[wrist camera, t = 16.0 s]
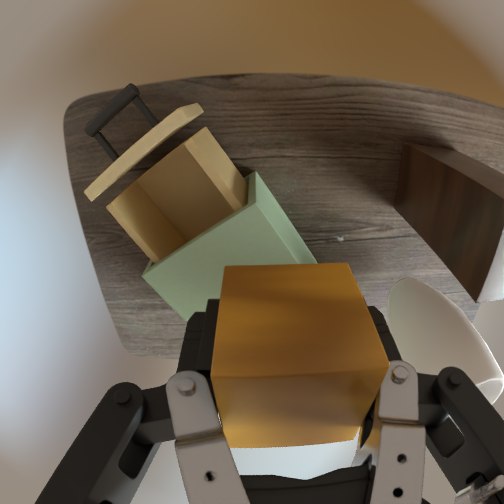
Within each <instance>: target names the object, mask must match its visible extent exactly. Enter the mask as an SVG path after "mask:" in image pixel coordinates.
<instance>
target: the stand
mask: <svg viewBox="0 0 504 504" xmlns="http://www.w3.org/2000/svg"><path fill="white" fill-rule="evenodd" d="M394 209H395V210H396V211H397V212H398V213H399V214H400V215H401V216H402V217H403V218H404V219H405V220H406V221H407V222H408V223H409V224H410V225H411V226H412V228H413V229H414V230H415V231H416V232H417V233H418V234H419V235H420V236H421V237H422V238H423V240H424V241H425V242H426V243H427V244H428V245H429V246H430V247H431V249H432V250H433V251H434V252H435V253H436V254H437V255H438V257H439V258H440V259H441V260H442V261H443V263H444V264H445V265H446V266H447V267H448V269H449V270H450V271H451V272H452V273H453V275H454V276H455V277H456V278H457V280H458V281H459V282H460V283H461V285H462V286H463V287H464V288H465V290H466V291H467V292H468V294H469V295H470V296H471V298H472V299H473V300H474V301H475V303H480V302H487V301H495V300H502V299H504V174H502V173H500V172H498V171H497V170H495V169H493V168H491V167H489V166H487V165H485V164H483V163H481V162H479V161H477V160H475V159H473V158H471V157H469V156H467V155H465V154H463V153H460V152H458V151H455V150H449V149H443V148H437V147H431V146H424V145H417V144H410V143H403V146H402V155H401V164H400V172H399V179H398V186H397V193H396V199H395V205H394Z"/></svg>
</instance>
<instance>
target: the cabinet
mask: <svg viewBox="0 0 504 504" xmlns="http://www.w3.org/2000/svg"><path fill="white" fill-rule="evenodd" d="M244 179H245V181H246V182H247V184H248V185H249V190H248V204H247V205H246V206H244V207H242V208H241V209H239V210H238V211H236V212H234V213H233V214H231V215H230V216H228V217H226V218H225V219H223V220H222V221H220V222H219V223H217V224H215V225H214V226H212V227H211V228H209V229H208V230H206V231H204V232H203V233H201V234H200V235H198V236H197V237H195V238H194V239H192V240H191V241H189V242H188V243H186V244H184V245H183V246H181V247H180V248H178V249H177V250H175V251H174V252H172V253H171V254H169V255H168V256H166V257H165V258H163V259H162V260H160V261H159V262H157V263H156V264H154V263H153V261H152V260H151V259H150V261H149V263H148V265H147V267H146V268H145V270H144V272H143V274H142V277H143V278H144V279H145V280H146V281H147V283H148V284H149V285H150V286H151V287H152V288H153V289H154V290H155V291H156V292H157V293H158V294H159V295H160V296H161V297H162V298H163V299H164V300H165V301H166V302H167V303H168V304H169V305H170V306H171V307H172V308H173V309H174V310H175V311H176V312H177V313H178V314H179V315H180V316H181V317H182V318H183V319H184V320H185V321H186V322H188V320H189V318H190V317H191V316H192V315H193V314H194V312H206V306H207V301H208V299H220V295H221V287H222V280H223V272H224V267H225V266H229V265H277V264H317V261H316V260H315V258H314V257H313V255H312V254H311V252H310V251H309V249H308V247H307V246H306V244H305V243H304V241H303V240H302V238H301V237H300V235H299V234H298V232H297V231H296V229H295V228H294V226H293V225H292V223H291V222H290V220H289V219H288V217H287V216H286V214H285V213H284V211H283V210H282V208H281V207H280V205H279V204H278V202H277V201H276V199H275V198H274V196H273V195H272V193H271V192H270V190H269V189H268V188H267V186H266V185H265V183H264V182H263V180H262V179H261V177H260V176H259V175H258V173H257V172H256V171H254V172H252V173H251V174H249V175H248V176H246V177H244Z"/></svg>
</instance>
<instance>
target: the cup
mask: <svg viewBox="0 0 504 504" xmlns="http://www.w3.org/2000/svg"><path fill="white" fill-rule="evenodd" d="M387 315H388V327H389V330H390V333H391V334H392V337H393V339H394V341H395V343H396V346H397V348H398V350H399V353H400V355H401V358H402V360H403V361H405V362H407V363H409V364H411V365H412V366H413V367H414V368H415V370H416V372H418V373H422V374H430V375H438V374H439V372H440V371H441V370H442V369H443V368H445V367H450V366H452V367H457V368H459V369H461V370H463V371H464V372H465V373H466V374H467V375H468V377H469V378H470V379H471V380H472V381H473V383H474V384H475V385H476V386H477V387H478V389H479V390H480V391H481V392H482V394H483V395H484V396H485V397H486V399H487V400H488V401H489V402H490V404H491V405H492V404H493V403H494V402H495V401H496V400H497V398H498V397H499V396H500V394H501V393H502V391H503V388H504V375H503V374H502V371H501V370H500V368H499V366H498V364H497V362H496V360H495V359H494V356H493V355H492V353H491V351H490V349H489V347H488V346H487V344H486V342H485V341H484V340H483V338H482V337H481V335H480V334H479V333H478V331H477V330H476V328H475V327H474V326H473V324H472V323H471V322H470V320H469V319H468V318H467V316H466V315H465V314H464V313H463V311H462V310H461V309H460V308H459V307H458V306H457V305H455V304H454V303H453V302H452V301H451V300H449V299H448V298H447V297H446V296H445V295H444V294H442V293H441V292H440V291H438V290H437V289H435V288H433V287H431V286H430V285H428V284H426V283H424V282H422V281H419V280H416V279H413V278H404V279H402V280H400V281H398V282H397V283H396V284H394V285H393V287H392V288H391V290H390V291H389V297H388V306H387ZM450 418H451V417H450ZM451 419H452V418H451ZM452 421H453V420H452ZM453 422H454V421H453ZM454 423H455V422H454ZM455 425H456V424H455ZM456 426H457V425H456ZM457 428H458V427H457Z"/></svg>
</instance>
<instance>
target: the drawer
mask: <svg viewBox="0 0 504 504" xmlns="http://www.w3.org/2000/svg"><path fill="white" fill-rule="evenodd" d="M139 95H140V92H139V90H138V88H137V87H136V86H135V85H133V84H129V85H128V86H126V87H125V88H124V89H123V90H122V91H121V92H120V93H119V94H118V95H117V96H115V97H114V98H113V99H112V100H111V101H110V102H109V103H108V104H107V105H106V106H105V107H104V108H103V109H102V110H101V111H100V112H99V113H98V114H97V115H96V116H95V117H94V118H93V119H92V120H91V121H90V122H89V123H88V124H87V125H86V126H85V132H86V133H87V134H88V135H89V136H91V137H95V138H96V140H97V141H98V142H99V144H100V145H101V146H102V148H103V149H104V150H105V151H106V153H107V154H108V155H109V157H110V158H111V159H112V160H113V163H112V164H111V165H110V166H109V167H108V168H107V169H106V170H105V171H104V172H103V173H102V174H101V175H100V176H99V177H98V178H97V179H96V180H95V181H94V182H93V183H92V184H91V185H90V186H89V187H88V188H87V189H86V190H85V191H84V193H85V195H86V196H87V197H88V198H89V200H90V201H93V200H94V199H95V198H96V197H98V196H99V195H100V194H101V193H102V192H104V191H105V190H106V189H107V188H108V187H110V186H111V185H112V184H113V183H115V182H116V181H117V180H119V179H120V178H121V177H122V176H124V175H125V174H126V173H127V172H128V171H129V170H130V169H132V168H133V167H134V166H135V165H136V164H137V163H139V162H140V161H141V160H142V159H143V158H145V157H146V156H147V155H148V154H149V153H151V152H152V151H153V150H154V149H156V148H157V147H158V146H159V145H161V144H162V143H163V142H164V141H166V140H167V139H168V138H169V137H171V136H172V135H173V134H175V133H176V132H177V131H179V130H180V129H181V128H183V127H184V126H185V125H187V124H188V123H189V122H191V121H192V120H193V119H195V118H196V117H197V116H199V115H200V114H202V113H203V112H204V111H203V110H202V108H201V107H200V106H199V104H198V103H194V104H191V105H187V106H183V107H180V108H178V109H176V110H175V111H174V112H172V113H171V114H170V115H169V116H167V117H166V118H165V119H164V120H162V121H161V122H160V123H159V121H158V120H157V119H156V117H155V116H154V115H153V114H152V112H151V111H150V110H149V108H148V107H147V106H146V104H145V103H144V102H143V101H142V99H141V98H140V97H139ZM132 101H133V102H134V104H135V105H136V106H137V108H138V109H139V110H140V112H141V113H142V114H143V115H144V117H145V118H146V119H147V121H148V122H149V123H150V125H151V126H152V127H153V128H152V129H151V130H150V131H149V132H148V133H146V134H145V135H144V136H143V137H142V138H140V139H139V140H138V141H137V142H136V143H135V144H133V145H132V146H131V147H130V148H129V149H128V150H127V151H126V152H124V153H123V154H122V155H121V156H119V155H118V154H117V152H116V151H115V150H114V148H113V147H112V146H111V145H110V143H109V142H108V141H107V139H106V138H105V137H104V135H103V134H102V133H101V132H99V131H100V130H101V129H102V128H103V127H105V126H106V125H107V124H108V123H109V122H110V121H111V120H112V119H113V118H114V117H115V116H116V115H117V114H118V113H119V112H120V111H122V110H123V109H124V108H125V107H126V106H127V105H128V104H129V103H130V102H132ZM248 190H249V185H248V184H247V182H246V181H245V179H244V178H243V177H242V175H241V174H240V172H239V171H238V170H237V168H236V167H235V166H234V164H233V163H232V161H231V160H230V159H229V157H228V156H227V155H226V153H225V152H224V150H223V149H222V148H221V146H220V145H219V144H218V142H217V141H216V140H215V138H214V137H213V136H212V134H211V133H210V132H209V130H208V129H207V128H206V126H205V127H204V128H202V129H201V130H200V131H198V132H197V133H195V134H194V135H193V136H191V137H190V138H189V139H187V140H186V141H184V142H183V143H182V144H180V145H179V146H178V147H176V148H175V149H174V150H173V151H171V152H170V153H169V154H167V155H166V156H165V157H164V158H162V159H161V160H160V161H158V162H157V163H156V164H155V165H153V166H152V167H151V168H150V169H149V170H147V171H146V172H145V173H144V174H142V175H141V176H140V177H139V178H138V179H136V180H135V181H134V182H133V183H132V184H131V185H130V186H128V187H127V188H126V189H125V190H124V191H123V192H122V193H121V194H120V195H119V196H117V197H116V198H115V199H114V200H113V201H112V202H111V203H110V204H109V205H108V206H107V207H106V208H107V210H108V211H109V212H110V213H111V214H112V216H113V217H114V218H115V219H116V220H117V221H118V223H119V224H120V225H121V226H122V227H123V229H124V230H125V231H126V232H127V233H128V234H129V235H130V237H131V238H132V239H133V240H134V241H135V242H136V244H137V245H138V246H139V247H140V248H141V249H142V250H143V251H144V253H145V254H146V255H147V256H148V257H149V258H150V259H151V260H152V261H153V263H154V264H156V263H157V262H159V261H160V260H162V259H163V258H165V257H166V256H168V255H169V254H171V253H172V252H174V251H175V250H177V249H178V248H180V247H181V246H183V245H184V244H186V243H188V242H189V241H191V240H192V239H194V238H195V237H197V236H198V235H200V234H201V233H203V232H204V231H206V230H208V229H209V228H211V227H212V226H214V225H215V224H217V223H219V222H220V221H222V220H223V219H225V218H226V217H228V216H230V215H231V214H233V213H234V212H236V211H238V210H239V209H241V208H242V207H244V206H246V205H247V204H248Z"/></svg>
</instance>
